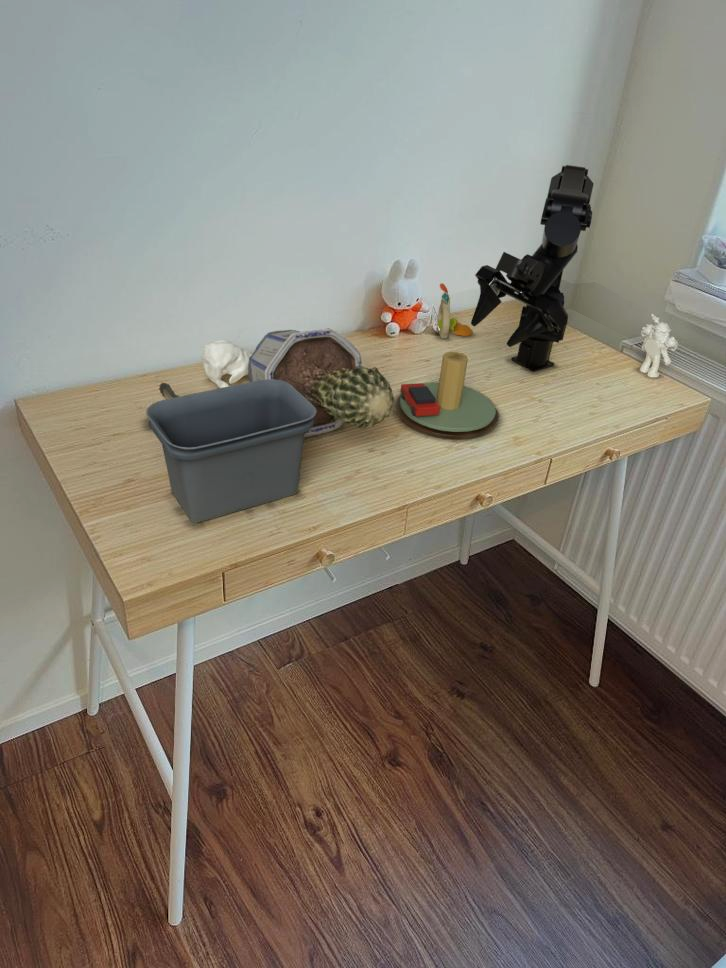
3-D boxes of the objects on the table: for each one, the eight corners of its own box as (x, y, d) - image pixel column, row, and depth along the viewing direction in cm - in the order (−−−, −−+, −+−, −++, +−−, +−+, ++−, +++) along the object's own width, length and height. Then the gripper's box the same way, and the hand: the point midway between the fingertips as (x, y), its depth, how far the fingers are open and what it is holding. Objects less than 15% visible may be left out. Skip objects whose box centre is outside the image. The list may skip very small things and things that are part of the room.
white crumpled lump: (198, 336, 135) (257, 330, 142) (196, 380, 140) (254, 372, 147) (214, 350, 131) (275, 343, 138) (212, 395, 136) (271, 386, 143)
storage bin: (181, 542, 103) (174, 451, 94) (142, 482, 113) (133, 396, 105) (320, 501, 113) (325, 416, 105) (273, 450, 123) (274, 369, 115)
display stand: (450, 380, 148) (450, 377, 148) (519, 423, 137) (520, 419, 136) (374, 403, 139) (375, 399, 138) (442, 450, 127) (443, 446, 127)
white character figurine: (627, 364, 161) (643, 310, 154) (641, 362, 163) (658, 308, 156) (656, 384, 154) (674, 328, 148) (671, 381, 156) (690, 326, 149)
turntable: (473, 383, 146) (482, 334, 140) (510, 428, 133) (521, 376, 127) (388, 388, 142) (393, 338, 136) (417, 435, 128) (425, 382, 123)
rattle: (469, 346, 163) (477, 294, 156) (430, 340, 164) (438, 288, 157) (472, 333, 169) (481, 282, 162) (435, 327, 170) (442, 276, 163)
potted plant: (226, 325, 126) (326, 354, 103) (318, 313, 136) (428, 337, 113) (235, 428, 133) (331, 476, 110) (322, 409, 142) (427, 450, 119)
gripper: (491, 218, 133) (434, 290, 134) (571, 253, 121) (508, 332, 122) (516, 256, 141) (462, 323, 143) (593, 292, 129) (534, 365, 131)
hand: (489, 335), depth 134 cm, fingers open, 9 cm apart
